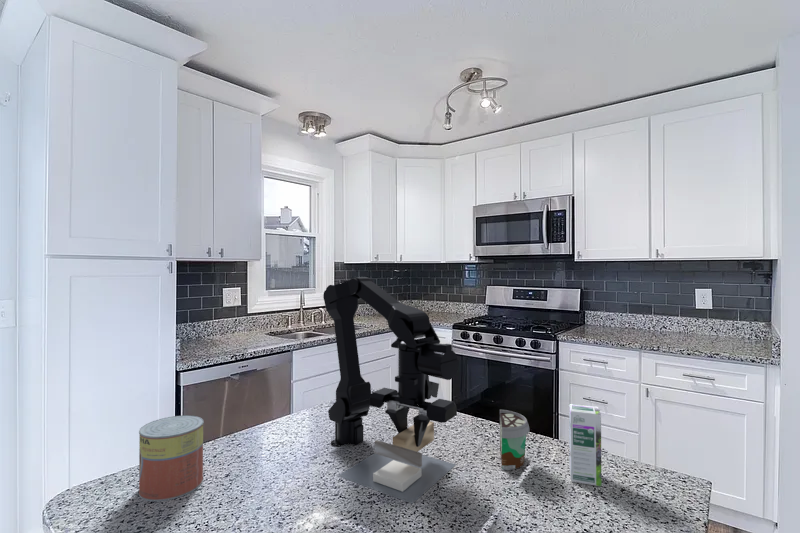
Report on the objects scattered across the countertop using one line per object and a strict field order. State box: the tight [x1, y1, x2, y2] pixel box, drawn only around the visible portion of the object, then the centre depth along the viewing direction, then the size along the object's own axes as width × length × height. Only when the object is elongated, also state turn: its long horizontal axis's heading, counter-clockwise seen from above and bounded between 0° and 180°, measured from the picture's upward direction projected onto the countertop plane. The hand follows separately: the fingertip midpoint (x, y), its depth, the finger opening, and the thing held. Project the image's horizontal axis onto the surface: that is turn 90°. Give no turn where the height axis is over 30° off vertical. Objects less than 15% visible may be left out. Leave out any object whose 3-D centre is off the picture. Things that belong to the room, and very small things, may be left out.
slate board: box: [337, 452, 457, 505], centre depth 87 cm, size 18×18×1 cm
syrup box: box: [568, 403, 603, 488], centre depth 85 cm, size 6×6×14 cm
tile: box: [373, 460, 421, 492], centre depth 83 cm, size 7×2×7 cm
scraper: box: [374, 420, 435, 468], centre depth 88 cm, size 13×11×4 cm
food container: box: [499, 409, 530, 471], centre depth 91 cm, size 12×6×10 cm, turn 168°
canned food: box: [138, 414, 205, 502], centre depth 82 cm, size 11×11×12 cm
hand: (411, 444), depth 88 cm, fingers closed on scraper, 3 cm apart
